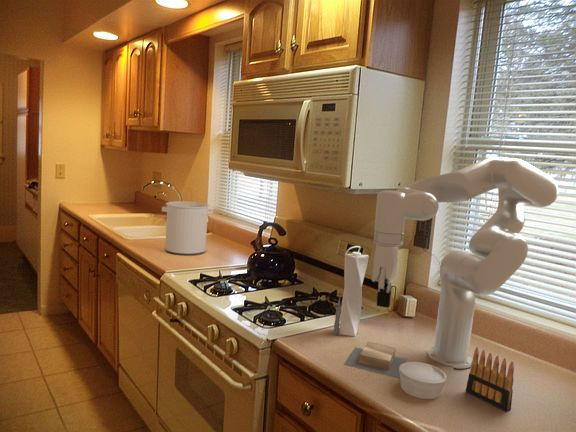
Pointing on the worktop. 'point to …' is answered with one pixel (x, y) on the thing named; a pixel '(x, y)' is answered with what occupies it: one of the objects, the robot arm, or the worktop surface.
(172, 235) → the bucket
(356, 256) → the skyscraper
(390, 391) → the worktop surface
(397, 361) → the mat
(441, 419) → the worktop surface
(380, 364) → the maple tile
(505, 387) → the ammunition clip
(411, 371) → the ramekin
